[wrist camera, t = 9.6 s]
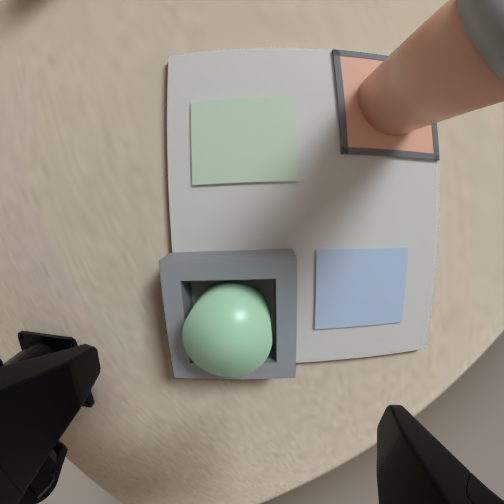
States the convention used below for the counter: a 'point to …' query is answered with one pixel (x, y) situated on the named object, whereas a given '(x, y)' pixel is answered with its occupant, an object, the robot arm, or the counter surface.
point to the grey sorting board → (298, 205)
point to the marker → (439, 69)
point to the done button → (228, 329)
